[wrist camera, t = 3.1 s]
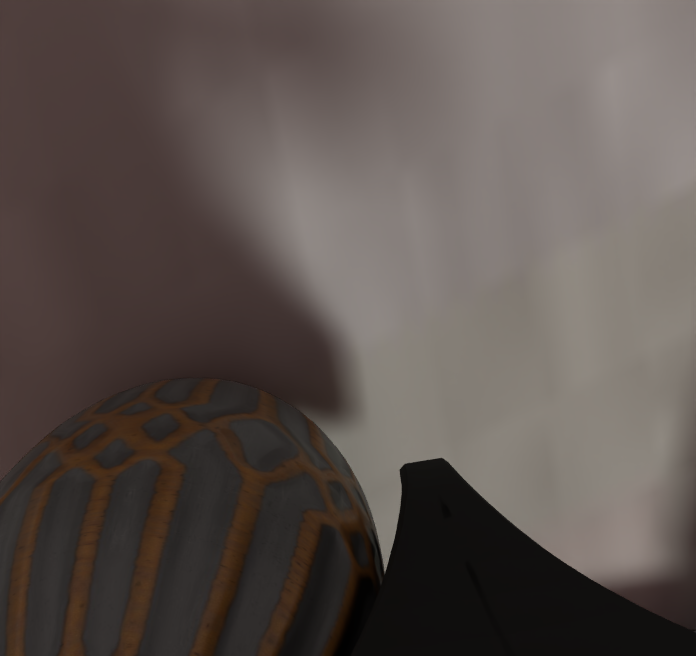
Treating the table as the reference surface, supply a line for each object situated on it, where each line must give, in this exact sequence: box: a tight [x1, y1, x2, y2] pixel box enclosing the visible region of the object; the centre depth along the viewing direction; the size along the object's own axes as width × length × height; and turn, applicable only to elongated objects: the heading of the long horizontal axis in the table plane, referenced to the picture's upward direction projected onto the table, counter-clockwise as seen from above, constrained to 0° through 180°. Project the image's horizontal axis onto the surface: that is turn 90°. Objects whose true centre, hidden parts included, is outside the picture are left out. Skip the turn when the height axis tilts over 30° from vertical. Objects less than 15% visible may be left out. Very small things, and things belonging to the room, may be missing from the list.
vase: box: [0, 378, 385, 656], centre depth 9 cm, size 7×7×9 cm
